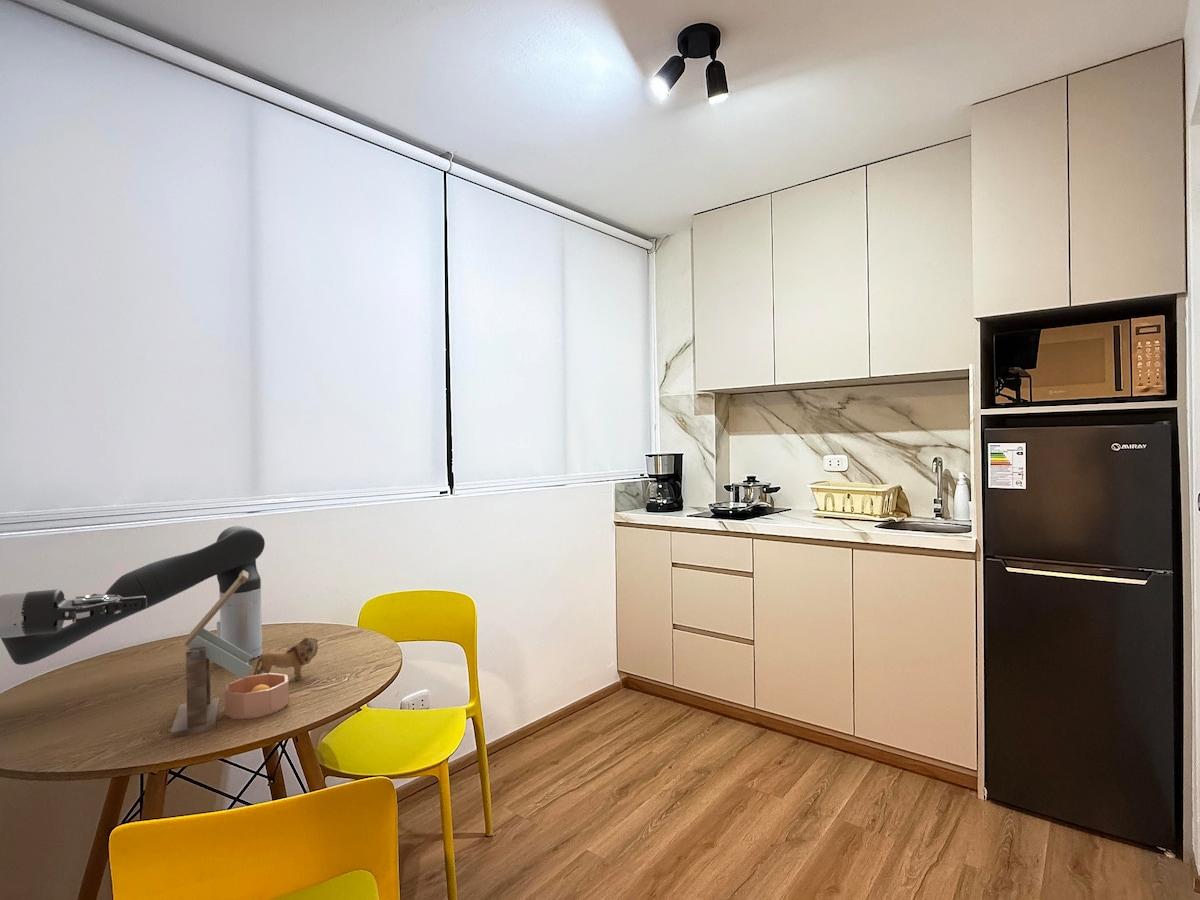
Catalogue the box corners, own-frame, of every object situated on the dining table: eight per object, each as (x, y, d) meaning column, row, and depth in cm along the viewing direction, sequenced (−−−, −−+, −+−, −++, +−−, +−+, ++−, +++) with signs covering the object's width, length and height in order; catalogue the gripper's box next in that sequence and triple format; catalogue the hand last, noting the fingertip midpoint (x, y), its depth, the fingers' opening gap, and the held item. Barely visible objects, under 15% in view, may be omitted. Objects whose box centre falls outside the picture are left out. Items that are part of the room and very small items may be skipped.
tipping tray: (182, 644, 120) (242, 575, 125) (186, 634, 127) (243, 569, 132) (243, 678, 125) (298, 611, 129) (243, 667, 132) (296, 603, 137)
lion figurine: (318, 670, 151) (317, 632, 151) (319, 677, 146) (318, 638, 146) (247, 682, 144) (246, 642, 144) (246, 689, 140) (245, 648, 140)
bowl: (224, 724, 122) (223, 698, 122) (226, 703, 132) (226, 679, 132) (289, 711, 127) (289, 686, 127) (287, 693, 137) (287, 669, 137)
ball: (278, 685, 131) (274, 704, 131) (263, 680, 132) (260, 700, 132) (261, 689, 127) (258, 709, 127) (247, 684, 129) (243, 704, 128)
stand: (170, 738, 116) (169, 655, 116) (179, 709, 129) (178, 635, 129) (215, 729, 119) (213, 649, 119) (219, 702, 133) (218, 629, 133)
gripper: (38, 625, 117) (152, 613, 125) (13, 645, 105) (140, 631, 114) (37, 585, 117) (151, 575, 125) (12, 600, 105) (140, 589, 114)
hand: (146, 602), depth 119 cm, fingers closed
